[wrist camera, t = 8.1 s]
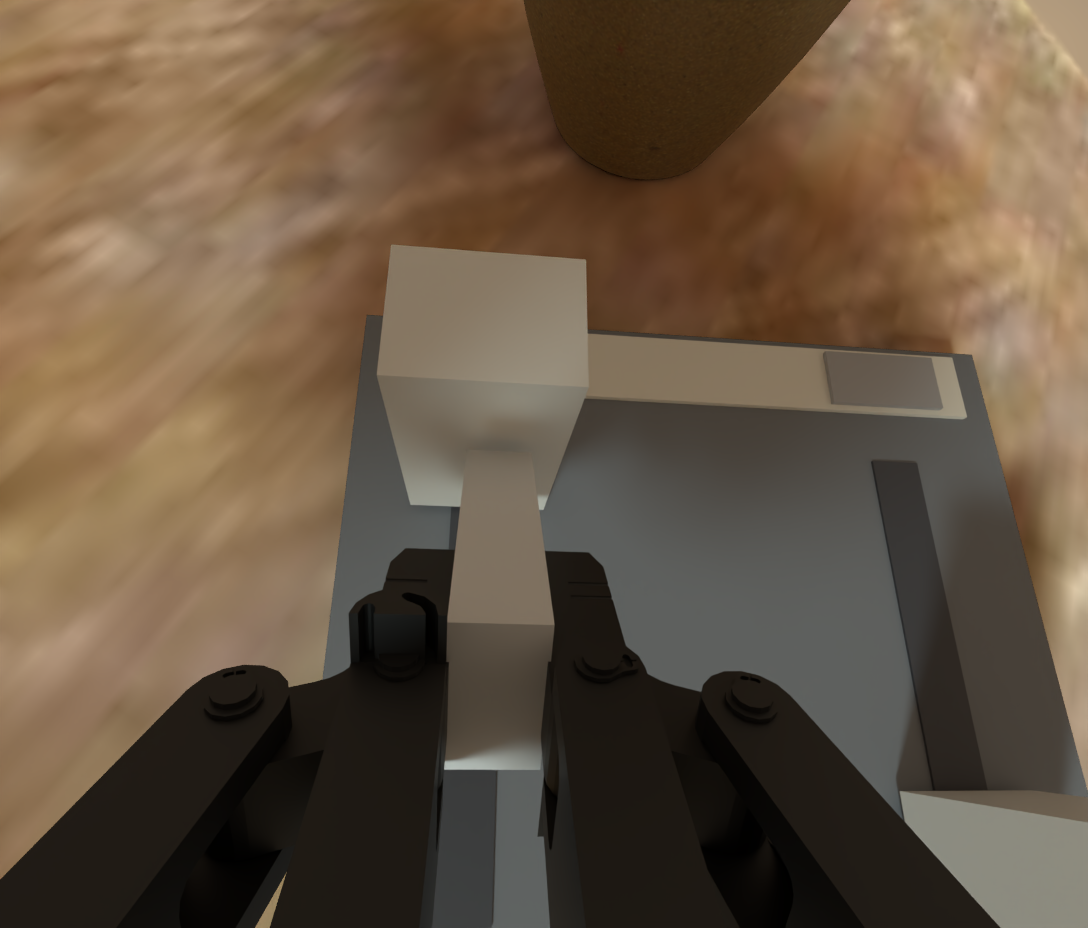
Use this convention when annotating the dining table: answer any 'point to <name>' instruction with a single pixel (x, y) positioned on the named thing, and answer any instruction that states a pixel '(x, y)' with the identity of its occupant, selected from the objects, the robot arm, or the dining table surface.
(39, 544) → the dining table surface
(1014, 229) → the dining table surface
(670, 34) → the plant pot
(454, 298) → the tab
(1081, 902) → the tab
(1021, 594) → the switch panel
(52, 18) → the dining table surface
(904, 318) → the dining table surface
